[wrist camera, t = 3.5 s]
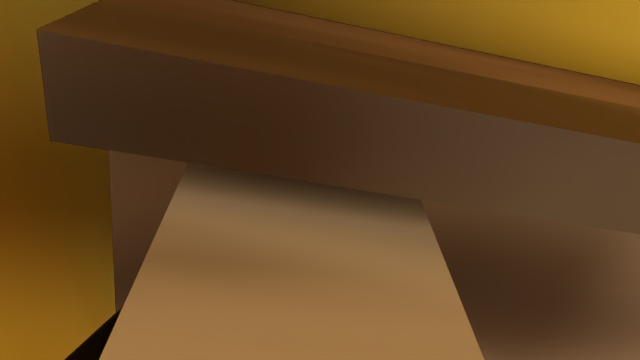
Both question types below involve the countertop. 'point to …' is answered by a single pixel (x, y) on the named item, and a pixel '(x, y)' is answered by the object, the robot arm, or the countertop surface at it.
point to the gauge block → (290, 277)
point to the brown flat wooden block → (373, 150)
